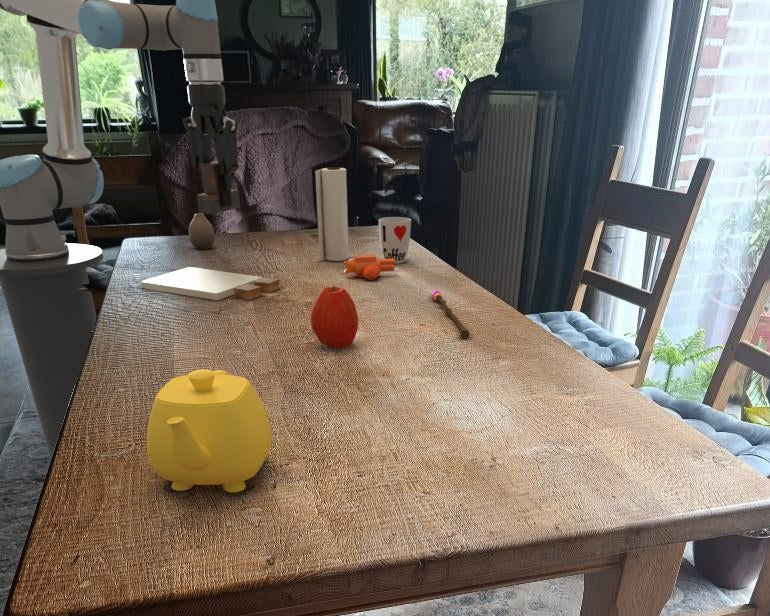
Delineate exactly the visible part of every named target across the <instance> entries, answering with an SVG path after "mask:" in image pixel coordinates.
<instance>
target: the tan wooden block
mask: <svg viewBox="0 0 770 616" xmlns="http://www.w3.org/2000/svg"><path fill="white" fill-rule="evenodd" d="M254 285H255V286H260V287H261V293H262V292H263V293H273V292H274V291H276V290H279V289H280V279H279V278H272V277H263V278H261V279H259V280H257V281H254Z"/></svg>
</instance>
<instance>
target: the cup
mask: <svg viewBox="0 0 770 616" xmlns="http://www.w3.org/2000/svg"><path fill="white" fill-rule="evenodd" d="M378 228H379V229H378V233H379V241H380V248H381V252H382V256H383V259H393V258H394V260H395V265H396V264H403V263H405V262H406V258H407V256H408V252H409V245H410V241H411V228H412V219H411V218H410V217H402V216H401V217H400V216H388V217H386V216H385V217H381V218H379V219H378Z"/></svg>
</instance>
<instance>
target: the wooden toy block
mask: <svg viewBox="0 0 770 616" xmlns="http://www.w3.org/2000/svg"><path fill="white" fill-rule="evenodd" d="M201 169H202V178H203V186H204V188H203V192H202V193H198V194H196V200H197V209H198V213H202V214H204V215H205V214H207V215H212V214H213V215H214V214H218V213H223V212H226V211H232V210H235V209H240V208H241V204H240V194H239V189H232V190H230V193H231V202H232V205H231V206H227V207H221V200H220V190H219V181H218V175H219V173H218V172H220V168H219V164H218V160H214V161H210V162H206V163H201ZM203 186H202V187H203Z"/></svg>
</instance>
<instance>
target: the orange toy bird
mask: <svg viewBox="0 0 770 616" xmlns="http://www.w3.org/2000/svg"><path fill="white" fill-rule="evenodd" d="M343 264H344V265H345V269H344V271H343V273H344V275H347V274H350V273H354V275H356V277H357V278H366V279H367V280H368V281H373V280H374V279H377V278H378V277H380V274H381V273H383V272H395V265H396V264H395V260H394V258H393V259H384V258H379V257H377V256H376V254H356V255H355V256H353V258H348V259H347V260H343Z"/></svg>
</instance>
